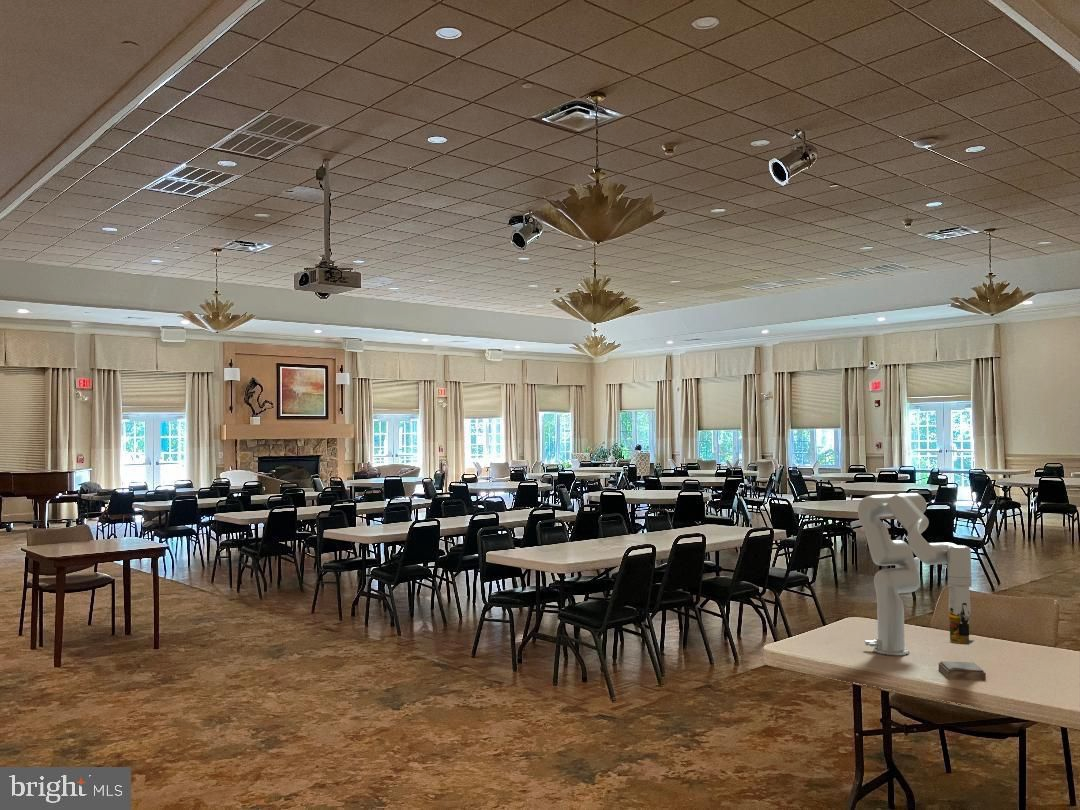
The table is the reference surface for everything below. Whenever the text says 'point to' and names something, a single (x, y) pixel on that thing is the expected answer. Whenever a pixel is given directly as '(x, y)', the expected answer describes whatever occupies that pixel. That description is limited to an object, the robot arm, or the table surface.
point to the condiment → (957, 630)
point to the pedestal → (962, 670)
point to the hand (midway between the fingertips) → (961, 632)
